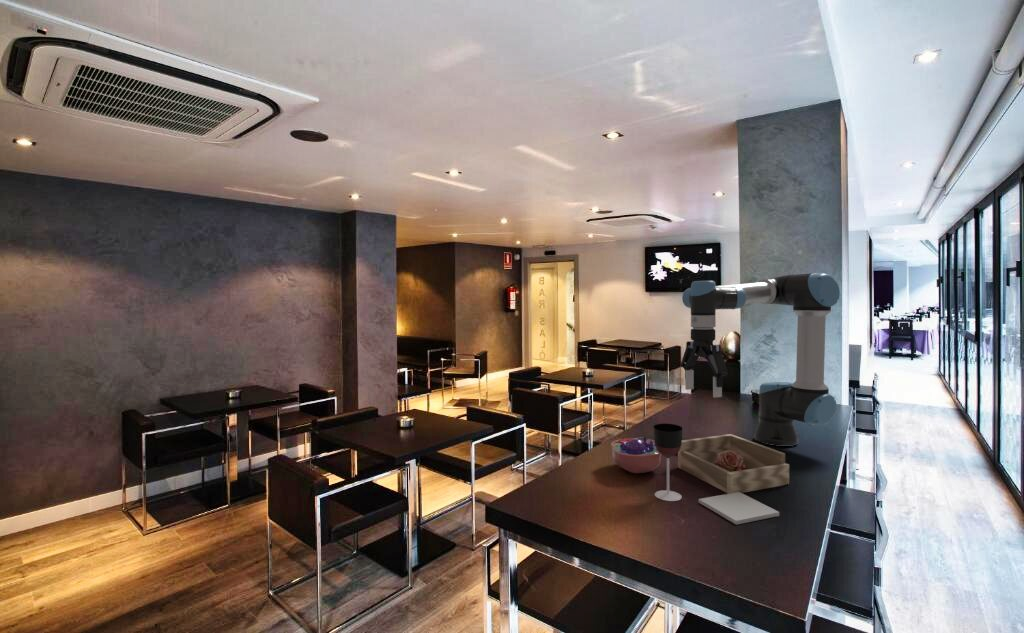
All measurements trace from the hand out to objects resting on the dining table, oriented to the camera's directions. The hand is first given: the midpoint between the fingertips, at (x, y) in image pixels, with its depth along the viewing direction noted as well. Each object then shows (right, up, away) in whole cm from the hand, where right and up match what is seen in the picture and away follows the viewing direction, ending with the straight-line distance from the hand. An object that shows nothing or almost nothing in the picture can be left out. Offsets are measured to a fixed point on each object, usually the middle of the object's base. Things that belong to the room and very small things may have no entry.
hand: (702, 393), depth 159 cm
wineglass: (-17, -27, -18) cm, 37 cm away
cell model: (-21, -26, +3) cm, 34 cm away
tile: (-1, -27, -27) cm, 38 cm away
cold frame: (+8, -26, -3) cm, 27 cm away
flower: (+8, -26, -3) cm, 27 cm away
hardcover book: (-4, -26, +27) cm, 37 cm away
